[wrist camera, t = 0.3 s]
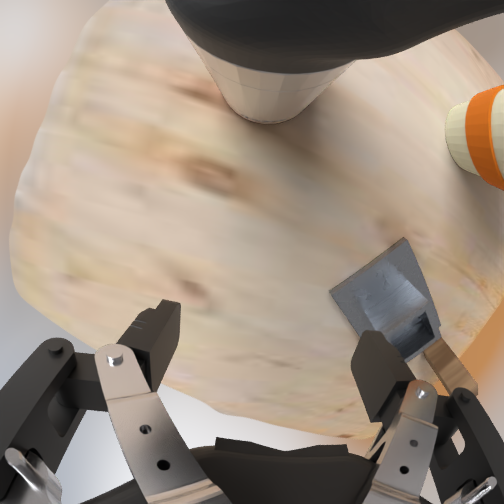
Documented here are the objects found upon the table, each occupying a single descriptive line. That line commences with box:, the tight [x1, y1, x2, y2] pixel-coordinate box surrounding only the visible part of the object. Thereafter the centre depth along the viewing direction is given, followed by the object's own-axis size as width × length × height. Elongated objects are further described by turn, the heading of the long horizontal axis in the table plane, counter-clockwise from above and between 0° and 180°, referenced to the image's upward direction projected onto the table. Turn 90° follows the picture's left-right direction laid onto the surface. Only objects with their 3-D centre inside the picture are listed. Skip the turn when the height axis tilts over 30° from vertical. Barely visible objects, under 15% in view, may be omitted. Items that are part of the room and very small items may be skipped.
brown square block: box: [423, 338, 478, 396], centre depth 29 cm, size 4×4×12 cm
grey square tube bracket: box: [329, 237, 441, 363], centre depth 29 cm, size 16×11×6 cm
